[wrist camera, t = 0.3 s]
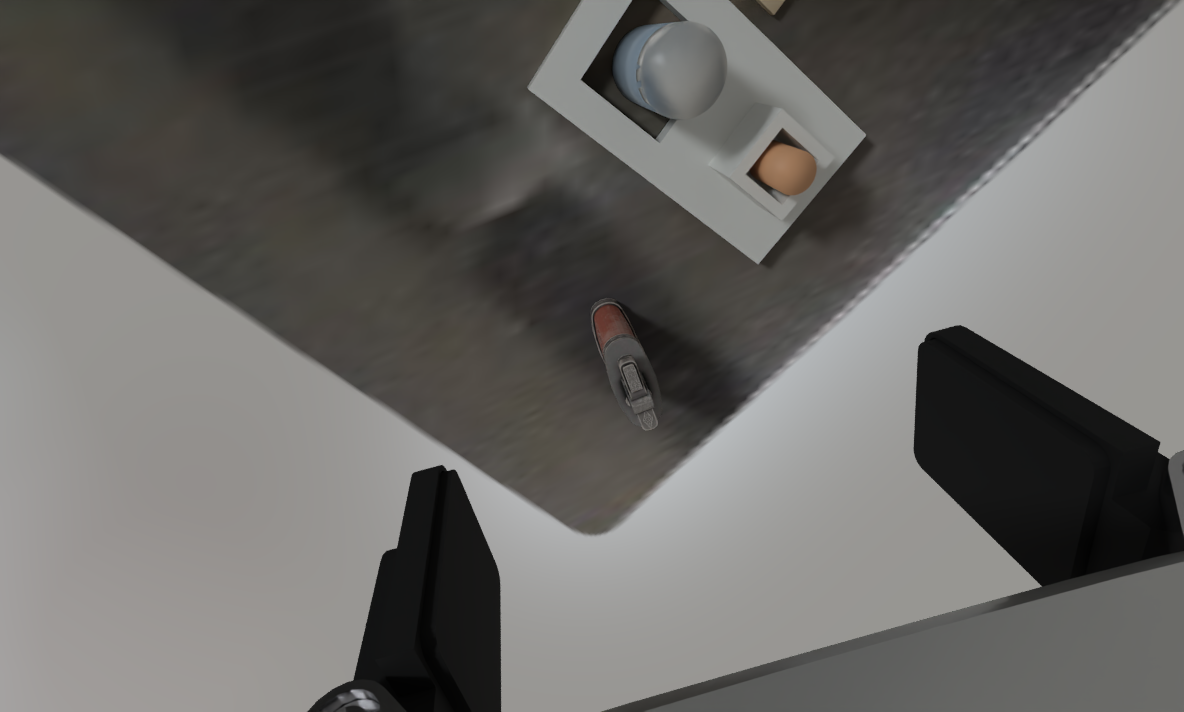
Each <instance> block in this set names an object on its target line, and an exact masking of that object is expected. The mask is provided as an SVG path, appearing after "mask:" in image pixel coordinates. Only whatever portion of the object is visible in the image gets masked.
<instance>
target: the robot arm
mask: <svg viewBox="0 0 1184 712" xmlns="http://www.w3.org/2000/svg"><path fill="white" fill-rule="evenodd" d="M914 432H915V433H914V454H915V458H916V460H917V462H918V464H919V465H920V466H921V468H922V469H923V470H924V471H925V472H926V473H927V474H928V475H929V476H930V477H931V478H932V479H933V480H934V481H935V482H936V483H937V484H938V485H939V486H940V487H941V488H942V489H943V490H944V491H946V493H948V494H949V495H950V496H951V497H952V498H953V499H954V500H955V501H956V502H957V503H958V504H959V505H960V506H961V507H962V508H963V509H964V510H965V511H966V512H967V513H968V514H969V515H970V516H971V517H972V518H973V519H974V520H975V521H976V522H977V523H978V524H979V525H980V526H981V527H982V528H983V529H984V530H985V531H986V532H987V533H988V534H989V535H990V536H991V537H992V538H993V539H994V540H996V542H997V543H998V544H1000V546H1002V547H1003V548H1004V549H1005V550H1006V551H1007V552H1008V553H1009V554H1010V555H1011V556H1012V557H1013V558H1014V559H1015V560H1016V561H1017V562H1018V563H1019V564H1020V565H1021V566H1022V567H1023V568H1024V569H1025V570H1026V571H1027V572H1028V573H1029V574H1030V575H1031V576H1032V577H1033V578H1034V579H1035V580H1036V581H1037V582H1038V583H1039V584H1040V585H1041V586H1042V587H1040V588H1036V589H1032V590H1029V591H1025V592H1021V593H1018V594H1014V595H1011V596H1007V597H1003V598H1000V599H996V600H992V601H989V602H986V603H982V604H978V605H974V606H971V607H967V608H964V609H960V610H956V611H952V612H949V613H945V614H942V615H938V616H934V617H931V618H927V619H924V620H920V621H917V622H913V623H909V624H906V625H903V626H899V627H895V628H892V629H888V630H884V631H881V632H878V633H874V634H870V635H867V636H863V637H859V638H856V639H852V640H849V641H845V642H842V643H838V644H835V645H831V646H827V647H824V648H820V649H817V650H813V651H810V652H807V653H803V654H799V655H796V656H792V657H789V658H785V659H781V660H778V661H774V662H771V663H767V664H764V665H760V666H757V667H754V668H750V669H747V670H743V671H740V672H736V673H732V674H729V675H726V676H722V677H719V678H715V679H712V680H708V681H705V682H701V683H698V684H694V685H691V686H687V687H684V688H680V689H677V690H674V691H670V692H666V693H663V694H659V695H656V696H653V697H649V698H646V699H642V700H639V701H635V702H632V703H628V704H625V705H622V706H618V707H615V708H612V709H609V710H605V711H602V712H1184V450H1183V451H1180V452H1178V453H1176V454H1175V455H1174V456H1173V457H1172V458H1171V459H1168V458H1167V457H1165V456H1163V455H1162V454H1160V453H1158V449H1159V445H1160V442H1159V441H1158V440H1156V439H1154V438H1153V437H1151V436H1149V435H1147V434H1146V433H1144V432H1142V431H1141V430H1139V429H1137V428H1135V427H1134V426H1132V425H1130V424H1129V423H1127V422H1125V421H1124V420H1122V419H1120V418H1119V417H1117V416H1115V415H1113V414H1112V413H1110V412H1108V411H1107V410H1105V409H1103V408H1102V407H1100V406H1098V405H1097V404H1095V403H1093V402H1091V401H1090V400H1088V399H1086V398H1084V397H1083V396H1081V395H1080V394H1078V393H1076V392H1074V391H1073V390H1071V389H1069V388H1068V387H1066V386H1064V385H1063V384H1061V383H1059V382H1057V381H1056V380H1054V379H1052V378H1050V377H1049V376H1047V375H1045V374H1044V373H1042V372H1040V371H1039V370H1037V369H1035V368H1033V367H1032V366H1030V365H1029V364H1027V363H1025V362H1023V361H1022V360H1020V359H1018V358H1016V357H1015V356H1013V355H1012V354H1010V353H1008V352H1007V351H1005V350H1003V349H1001V348H1000V347H998V346H996V345H995V344H993V343H991V342H990V341H988V340H986V339H984V338H983V337H981V336H979V335H978V334H976V333H974V332H973V331H971V330H969V329H968V328H966V327H963V326H961V325H959V326H954V327H949V328H946V329H942V330H939V331H935V332H931V333H929V334H928V335H927V336H926V338H925V341H924V342H923V343H921V344H920V345H919V348H918V363H917V386H916V408H915V431H914ZM500 624H501V623H500V577H499V572H498V568H497V565H496V563H495V560H494V558H493V555H492V553H491V551H490V549H489V546H488V544H487V541H486V539H485V537H484V535H483V532H482V530H481V527H480V525H479V523H478V520H477V518H476V516H475V513H474V511H473V509H472V506H471V504H470V501H469V499H468V497H467V494H466V492H465V490H464V487H463V485H462V483H461V480H460V478H459V476H458V474H457V472H456V471H455V470H450V471H447V470H446V468H445V467H444V466H443V465H440V466H436V467H433V468H429V469H425V470H421V471H418V472H414V473H413V474H412V477H411V482H410V486H409V491H408V497H407V501H406V506H405V511H404V516H403V521H402V526H401V531H400V537H399V541H398V546H397V548H396V549H392V550H389V551H386V552H385V553H384V554H383V556H382V559H381V562H380V567H379V571H378V575H377V579H376V584H375V588H374V593H373V597H372V602H371V606H370V610H369V615H368V619H367V623H366V628H365V632H364V636H363V641H362V645H361V649H360V654H359V658H358V663H357V667H356V671H355V676H354V680H353V681H351V682H347V683H345V684H343V685H341V686H338V687H336V688H334V689H332V690H331V691H330V692H328V693H327V694H326V695H324V696H323V697H322V698H320V699H319V700H318V701H317V702H316V703H315V704H314V705H313V706H312V707H311V708H310V710H309V711H308V712H501V640H500V639H501V638H500V637H501V631H500V630H501V629H500V628H501V625H500Z"/></svg>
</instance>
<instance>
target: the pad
mask: <svg viewBox="0 0 1184 712" xmlns="http://www.w3.org/2000/svg"><path fill="white" fill-rule="evenodd" d="M756 1H757V2H758V3H759V4H760V5H761V6H762V7H763V8H764V9H765V10H766V11H767V12H768V13H769V14H770V15H775V13H776V12H777V10H778V9H779V8H780V6H781V5H782V4H783V2H784V1H785V0H756Z"/></svg>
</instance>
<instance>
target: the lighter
mask: <svg viewBox="0 0 1184 712" xmlns="http://www.w3.org/2000/svg"><path fill="white" fill-rule="evenodd" d="M590 317H591V323H592V329H593V333H594V337H595V340H596V343H597V346H598V349H599V352H600V354H601V356H602V358H603V360H604V362H605V366H606V371H607V374H608V377H609V381H610V384H611V387H612V390H613V393H614V395H615V397H616V399H617V401H618V403H619V405H620V407H621V409H622V410H623V411H624V413H625V414H626V416H627V417H628V419H629V420H630V421H631V423H633V424H634V425H636V426H642V428H643V429H644V430H651V429H653V428H655V427H656V426H657V424H658V422H657V420H658V419H659V418H660V416H661V415H662V403H661V394H660V390H659V386H658V382H657V378H656V375H655V373H654V371H653V368H652V366H651V364H650V362H649V360H648V358H647V355H646V354H645V352H644V350H643V348H642V346H641V344H640V341H639V340H638V339H637V336H636V334H635V332H634V330H633V327H632V325H631V323H630V321H629V319H628V317H627V315H626V314H625V312H624V310H623V309H622V307H621V306H620V304H619V303H618V302H617V301H616V300H614V299H609V298H606V299H602V300H599V301H598V302H596V303H595V304H594V305H593V306H592V308H591V310H590Z"/></svg>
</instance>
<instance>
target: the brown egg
mask: <svg viewBox="0 0 1184 712" xmlns="http://www.w3.org/2000/svg"><path fill="white" fill-rule="evenodd" d="M749 171H750V173H751V175H752V176H753V177H754V178H755V179H757V180H759V181H761V182H763V183H765V184H767V185H768V186H770V187H772V188H774V189H776V190H778V191H780V192H782V193H784V194H786V195H798V194H800V193H802V192H804V191H805V190H807V189H808V188H809V187H810V185H811V184H812V183H813V181H814V179H815V176H816V171H817V166H816V162H815V159H814V158H813V156H812V155H811V154H810V153H808V152H806V151H803V150H800V149H798V148H795V147H792V146H789V145H786V144H784V143H781V142H778V141H775V140H772V141H771V143H770V144H769V145H768V147H767V148H766V149H765V150H764V152H763V153H762V154H761V155H760V157H759V158H758V159H757V161H756V162H755V163H754V164H753V166H752V167H751V168H750V169H749Z"/></svg>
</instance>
